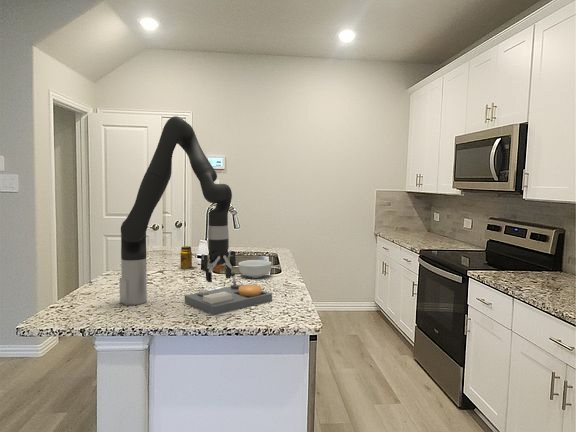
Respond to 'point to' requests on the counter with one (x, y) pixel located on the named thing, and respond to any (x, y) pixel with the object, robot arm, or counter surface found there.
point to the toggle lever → (233, 278)
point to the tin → (218, 267)
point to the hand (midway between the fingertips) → (218, 280)
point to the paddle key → (217, 297)
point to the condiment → (186, 258)
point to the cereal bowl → (255, 268)
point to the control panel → (228, 305)
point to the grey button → (203, 292)
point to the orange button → (250, 290)
